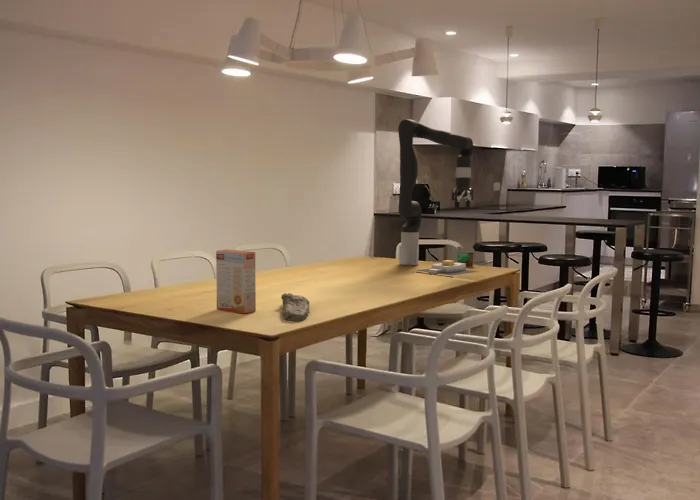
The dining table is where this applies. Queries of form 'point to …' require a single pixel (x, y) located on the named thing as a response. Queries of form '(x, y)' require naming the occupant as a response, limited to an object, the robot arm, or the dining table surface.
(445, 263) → the tan small block
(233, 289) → the cracker box
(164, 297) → the dining table surface
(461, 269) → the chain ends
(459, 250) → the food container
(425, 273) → the mat
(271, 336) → the dining table surface
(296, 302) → the elongated rock
